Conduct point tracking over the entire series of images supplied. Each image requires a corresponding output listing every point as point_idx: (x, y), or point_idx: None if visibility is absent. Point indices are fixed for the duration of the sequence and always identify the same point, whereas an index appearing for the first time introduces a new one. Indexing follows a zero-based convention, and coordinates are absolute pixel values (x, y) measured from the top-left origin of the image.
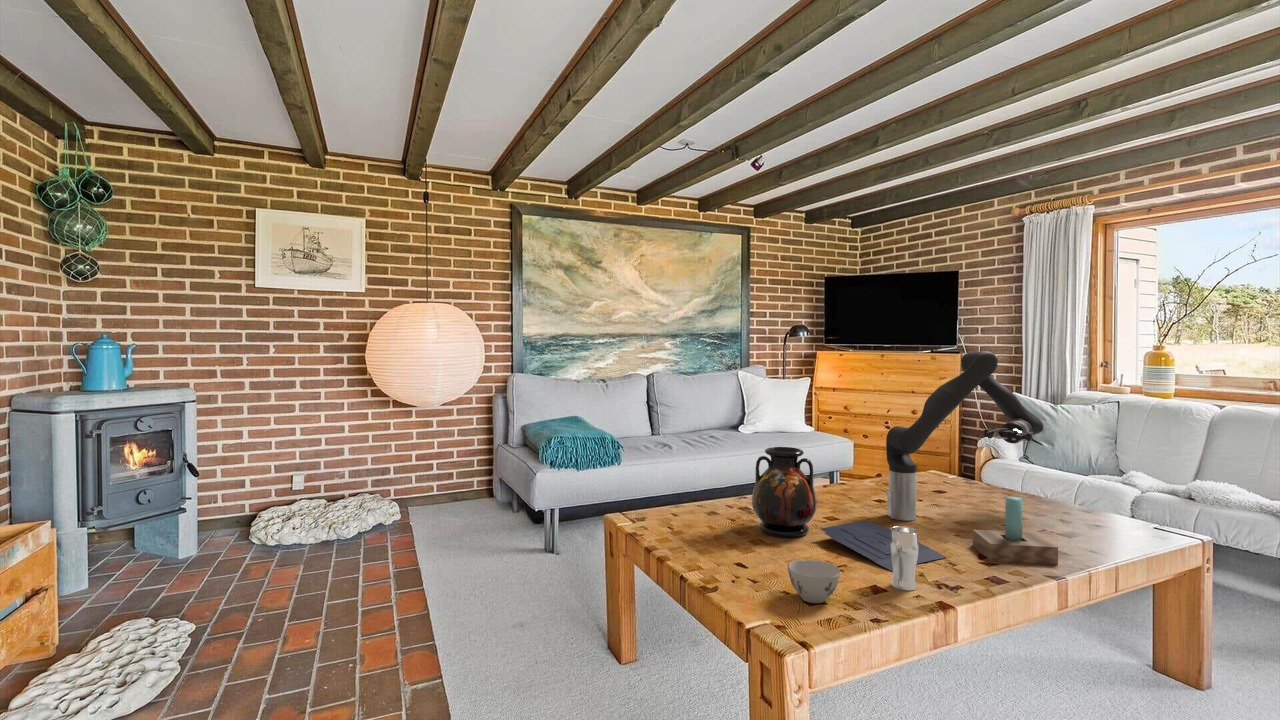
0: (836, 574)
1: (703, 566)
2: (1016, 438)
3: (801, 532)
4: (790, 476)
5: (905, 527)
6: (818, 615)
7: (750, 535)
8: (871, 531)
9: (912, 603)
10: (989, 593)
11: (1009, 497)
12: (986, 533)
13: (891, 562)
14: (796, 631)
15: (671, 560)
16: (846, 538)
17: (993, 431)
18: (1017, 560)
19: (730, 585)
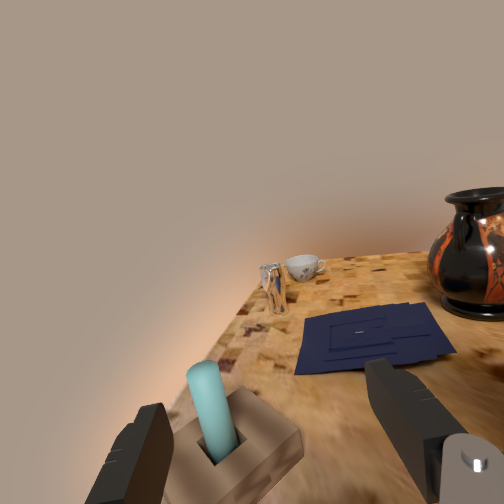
0: (293, 269)
1: (386, 260)
2: (164, 424)
3: (443, 303)
4: (446, 227)
5: (274, 269)
6: (287, 275)
7: None
8: (401, 340)
9: (259, 303)
10: (222, 341)
11: (211, 370)
12: (268, 426)
13: (317, 324)
14: (282, 268)
15: (407, 253)
16: (386, 313)
17: (441, 470)
18: None
19: (347, 263)
